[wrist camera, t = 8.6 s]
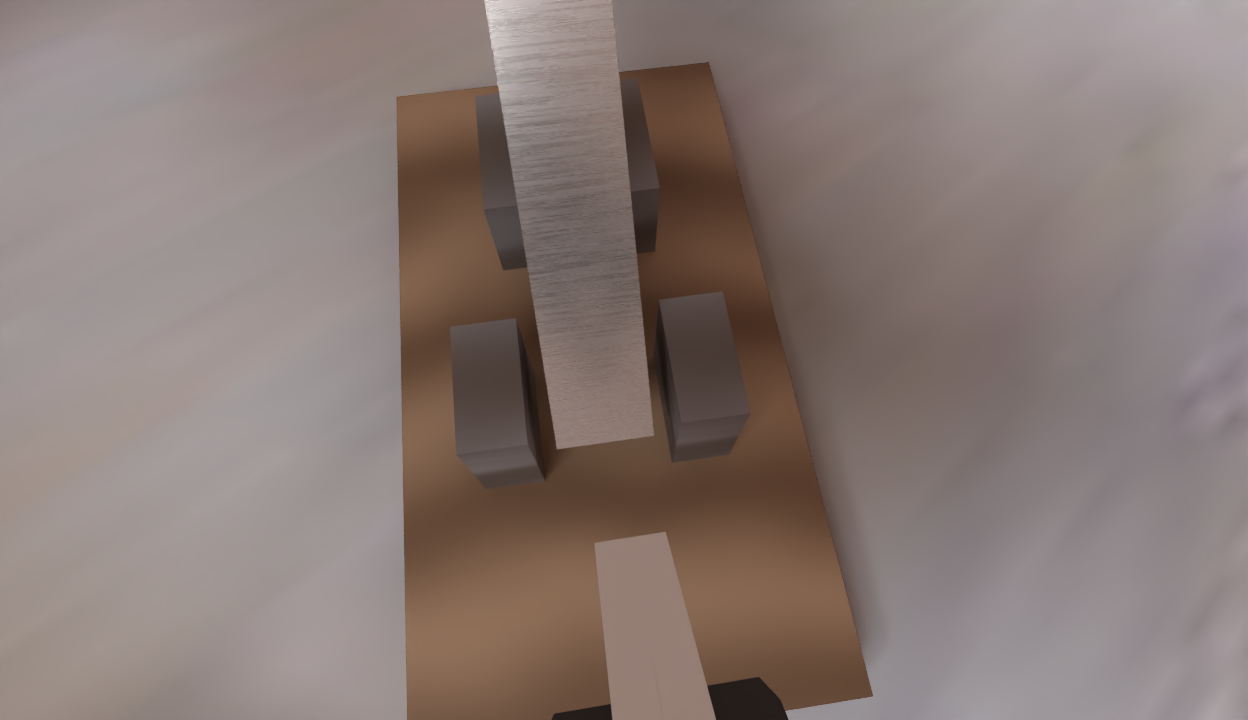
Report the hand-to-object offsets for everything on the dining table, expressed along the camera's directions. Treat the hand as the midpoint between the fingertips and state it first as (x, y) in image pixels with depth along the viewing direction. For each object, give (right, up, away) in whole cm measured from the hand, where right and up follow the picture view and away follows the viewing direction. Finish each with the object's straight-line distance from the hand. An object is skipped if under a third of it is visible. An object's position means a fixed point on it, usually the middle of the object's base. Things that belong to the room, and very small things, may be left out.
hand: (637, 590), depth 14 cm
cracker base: (-2, +5, +13) cm, 14 cm away
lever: (-1, +3, +8) cm, 8 cm away
